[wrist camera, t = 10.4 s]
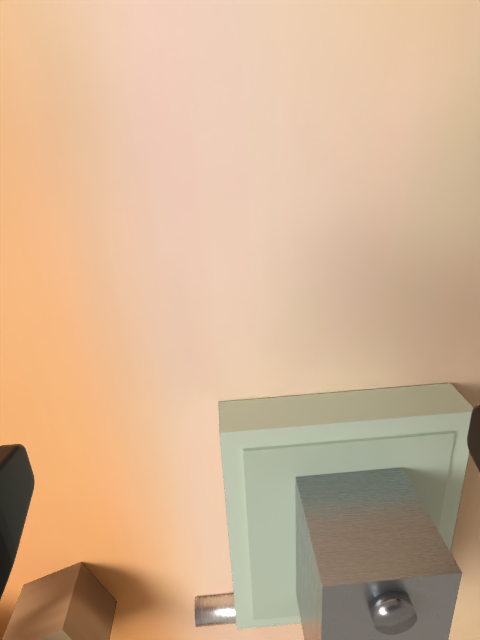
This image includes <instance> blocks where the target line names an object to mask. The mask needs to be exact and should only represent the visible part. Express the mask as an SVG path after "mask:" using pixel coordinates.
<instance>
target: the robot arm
mask: <svg viewBox="0 0 480 640" xmlns="http://www.w3.org/2000/svg"><path fill="white" fill-rule="evenodd" d="M467 445H468V449H469V451H470V454H471V456H472V458H473V460H474V462H475V463H476V465H477V467H478V469H479V471H480V405H478V406H476V407H474V408H473V410H472V413H471V419H470V424H469V430H468V435H467ZM33 490H34V475H33V472H32V468H31V465H30V462H29V458H28V455H27V452H26V449H25V447H24V446H23V445H21V444H13V445H2V446H0V599H1V597H2V594H3V591H4V589H5V586H6V584H7V581H8V578H9V575H10V573H11V570H12V567H13V564H14V561H15V557H16V554H17V550H18V547H19V543H20V539H21V535H22V531H23V528H24V524H25V520H26V516H27V513H28V509H29V505H30V501H31V497H32V494H33Z"/></svg>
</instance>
